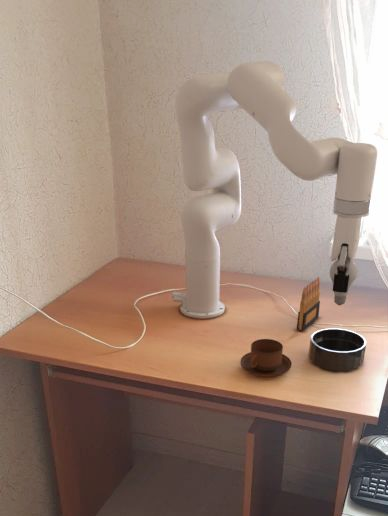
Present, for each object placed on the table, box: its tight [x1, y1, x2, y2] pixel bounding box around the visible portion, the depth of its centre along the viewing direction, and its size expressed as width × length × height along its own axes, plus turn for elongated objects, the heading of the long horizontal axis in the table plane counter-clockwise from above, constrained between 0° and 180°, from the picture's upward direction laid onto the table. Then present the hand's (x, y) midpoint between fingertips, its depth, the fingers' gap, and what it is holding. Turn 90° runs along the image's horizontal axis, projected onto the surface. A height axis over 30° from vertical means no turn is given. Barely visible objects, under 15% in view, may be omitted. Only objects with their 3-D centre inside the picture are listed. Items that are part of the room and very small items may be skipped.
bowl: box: [308, 327, 367, 373], centre depth 151 cm, size 13×13×6 cm
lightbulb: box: [329, 258, 358, 306], centre depth 142 cm, size 6×6×11 cm
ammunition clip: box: [296, 276, 321, 332], centre depth 167 cm, size 11×2×12 cm, turn 148°
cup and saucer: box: [239, 338, 292, 378], centre depth 147 cm, size 12×12×6 cm
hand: (341, 285), depth 143 cm, fingers closed on lightbulb, 6 cm apart
